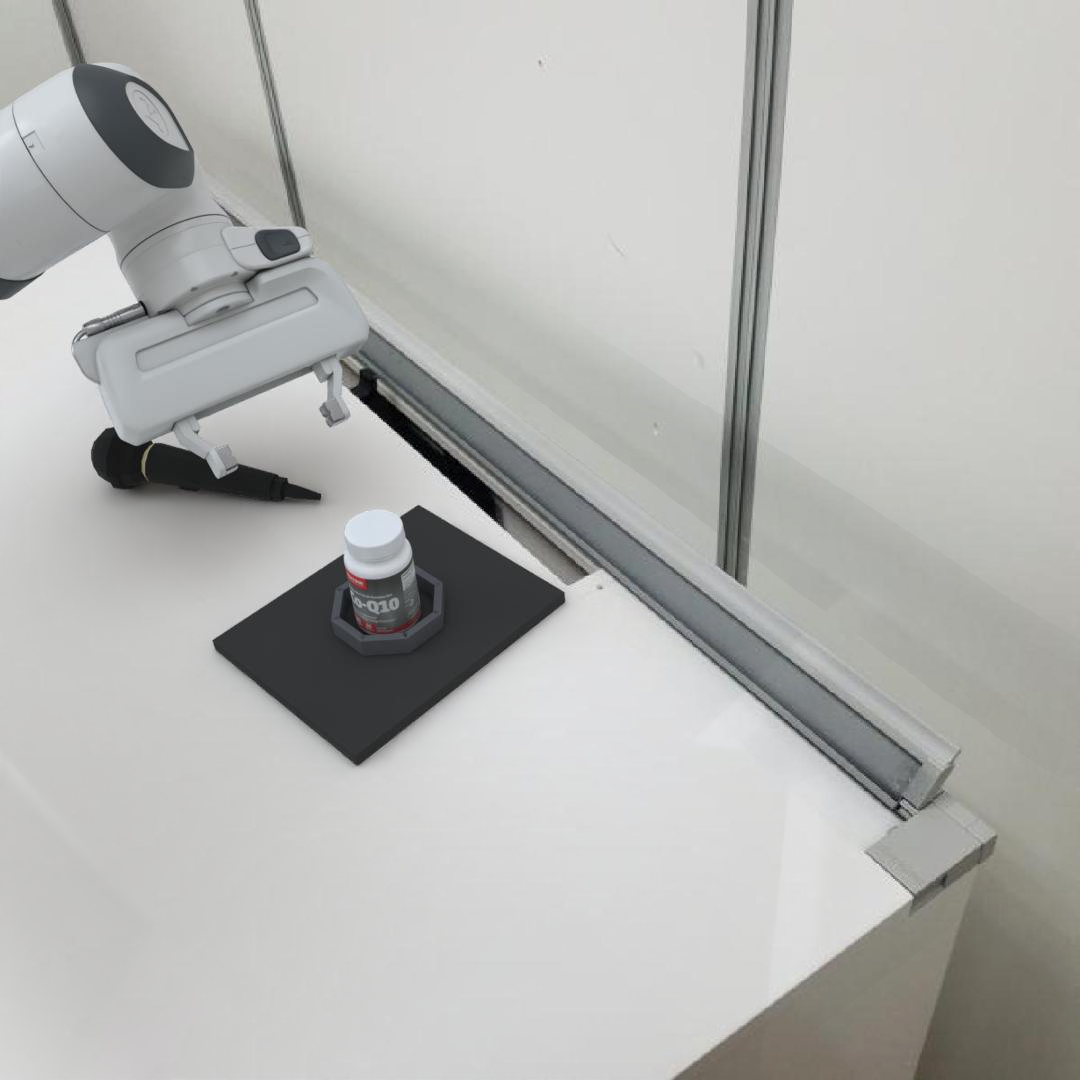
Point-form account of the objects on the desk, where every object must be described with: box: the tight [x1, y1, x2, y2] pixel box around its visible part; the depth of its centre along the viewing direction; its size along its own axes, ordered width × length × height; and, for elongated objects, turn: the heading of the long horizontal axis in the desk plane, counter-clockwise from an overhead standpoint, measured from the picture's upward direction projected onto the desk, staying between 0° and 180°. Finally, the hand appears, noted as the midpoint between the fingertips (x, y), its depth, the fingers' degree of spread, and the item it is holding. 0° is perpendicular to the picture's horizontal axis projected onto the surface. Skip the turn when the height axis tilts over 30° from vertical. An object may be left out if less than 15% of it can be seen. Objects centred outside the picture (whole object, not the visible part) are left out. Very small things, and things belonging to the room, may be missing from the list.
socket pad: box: [211, 504, 566, 766], centre depth 83 cm, size 20×16×2 cm
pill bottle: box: [343, 509, 421, 635], centre depth 80 cm, size 5×5×8 cm
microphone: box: [90, 426, 322, 502], centre depth 96 cm, size 6×6×20 cm
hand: (285, 447), depth 85 cm, fingers open, 8 cm apart
